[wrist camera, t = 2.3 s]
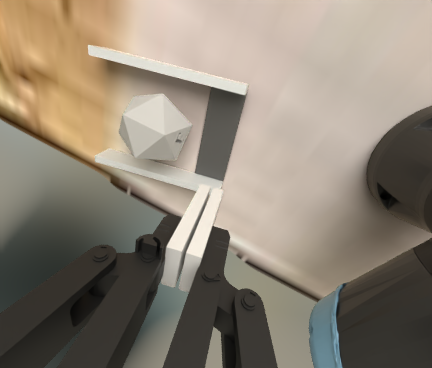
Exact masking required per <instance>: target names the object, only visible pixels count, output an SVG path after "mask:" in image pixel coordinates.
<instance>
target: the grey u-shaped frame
mask: <svg viewBox="0 0 432 368" xmlns="http://www.w3.org/2000/svg"><path fill="white" fill-rule="evenodd" d="M88 53H89V55H92V56H95V57H99V58H103V59H107V60H111V61H115V62H118V63H122V64H126V65H130V66H134V67H138V68H142V69H145V70H149V71H153V72H157V73H161V74H165V75H169V76H172V77H176V78H180V79H184V80H188V81H192V82H196V83H199V84H203V85H207V86H211V87H212V88H211V93H210V98H209V103H208V109H207V114H206V119H205V124H204V130H203V135H202V140H201V145H200V150H199V156H198V161H197V166H196V171H195V173H194V172H191V171H187V170H184V169H180V168H177V167H173V166H170V165H166V164H163V163H159V162H156V161H152V160H149V159H138V158H135V157H134V156H133V155H131V154H128V153H124V152H121V151H117V150H114V149H110V148H109V149H107V150H105V151H103V152H101V153H99V154H97V155H95V162H98V163H101V164H105V165H108V166H112V167H115V168H118V169H122V170H125V171H129V172H132V173H135V174H139V175H142V176H146V177H149V178H153V179H156V180H159V181H163V182H166V183H170V184H173V185H177V186H180V187H183V188H187V189H190V190H194V191H197V190H198V188H199V186H200V185H201V184H204V185H207V186H211V188H210V193H209V195H211V193H212V190H213V188H218V189H221V187H222V184H223V180H224V176H225V172H226V169H227V165H228V161H229V158H230V154H231V150H232V146H233V143H234V139H235V135H236V131H237V128H238V124H239V120H240V116H241V113H242V109H243V105H244V102H245V98H246V94H247V90H248V87H249V84H246V83H243V82H239V81H235V80H231V79H227V78H223V77H219V76H215V75H211V74H207V73H203V72H200V71H196V70H192V69H188V68H184V67H180V66H176V65H172V64H168V63H164V62H160V61H157V60H153V59H149V58H145V57H141V56H137V55H133V54H129V53H125V52H121V51H117V50H114V49H110V48H105V47H98V46H92V45H88Z"/></svg>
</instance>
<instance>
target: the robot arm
mask: <svg viewBox="0 0 432 368" xmlns="http://www.w3.org/2000/svg"><path fill="white" fill-rule="evenodd" d="M367 182H368V186H369V189H370V191H371V193H372V195H373V196H374V197H375V199H376V200H377V201H378V202H379V203H380V204H381V205H382V206H383V207H384V208H385V209H386V210H387V211H388V212H390V213H391V214H392V215H394V216H396V217H398V218H400V219H402V220H404V221H406V222H409V223H411V224H413V225H415V226H417V227H420V228H422V229H424V230H426V231H428V232H431V233H432V106H430V107H427V108H425V109H422V110H420V111H418V112H416V113H414V114H412V115H411V116H409V117H407V118H406V119H404V120H403V121H401V122H400V123H398V124H397V125H396V126H395V127H394V128H392V129H391V130H390V131H389V132H388V133H387V134H386V135H385V136H384V137H383V139H382V140H381V141H380V142H379V144H378V145H377V147H376V148H375V150H374V152H373V153H372V156H371V158H370V161H369V164H368V168H367ZM210 188H211V186H207V185H204V184H201V185H200V186H199V188H198V190H197V192H196V194H195V196H194V197H193V199H192V201H191V203H190V205H189V206H188V208H187V210H186V212H185V214H184V216H183V217H179V216H176V215H173V214H169V215H167V216H166V217H164V218H163V220H162V221H161V223H160V224H159V226H158V227H157V229H156V230H155V231H154V233H153V234H147V235H143V236H141V237H139V238H138V239H137V240H136V248H135V252H133V253H116V250H115V249H114V248H113V247H112V246H109V245H99V246H95V247H93V248H91V249H90V250H88V251H87V252H85V253H84V254H83V255H81V256H80V257H79V258H77V259H76V260H74V261H73V262H71V263H70V264H69V265H67V266H66V267H64V268H63V269H62V270H60V271H59V272H58V273H56V274H55V275H53V276H52V277H50V278H49V279H48V280H46V281H45V282H43V283H42V284H41V285H39V286H38V287H36V288H35V289H34V290H32V291H31V292H29V293H28V294H27V295H25V296H24V297H22V298H21V299H20V300H18V301H17V302H15V303H14V304H13V305H11V306H10V307H8V308H7V309H6V310H4V311H3V312H1V313H0V368H44V367H45V366H46V365H47V364H48V363H49V362H50V361H51V360H52V359H53V358H54V357H55V356H56V354H57V353H58V352H59V351H60V350H61V349H62V348H63V347H64V346H65V345H66V344H67V343H68V342H69V341H70V340H71V339H72V338H73V337H74V336H75V335H76V334H77V333H78V332H79V331H80V330H81V329H82V328H83V327H84V326H85V325H86V326H85V327H84V329H83V330H82V332H81V333H80V334H79V336H78V337H77V339H76V340H75V342H74V343H73V345H72V346H71V348H70V349H69V351H68V352H67V353H66V355H65V356H64V358H63V359H62V361H61V362H60V364H59V365H58V367H57V368H122V367H123V365H124V363H125V361H126V358H127V357H128V355H129V352H130V350H131V348H132V346H133V344H134V341H135V339H136V337H137V335H138V333H139V331H140V328H141V326H142V324H143V322H144V320H145V317H146V315H147V313H148V311H149V309H150V307H151V305H152V302H153V300H154V298H155V296H156V294H157V289H158V285H159V283H160V281H161V284H164V285H168V286H170V287H174V288H175V286H176V283H177V281H178V278H179V275H180V273H181V271H182V269H183V271H182V275H181V280H180V284H179V290H183V291H186V292H189V294H188V297H187V300H186V302H185V305H184V308H183V311H182V314H181V317H180V320H179V323H178V325H177V328H176V331H175V334H174V337H173V340H172V342H171V345H170V348H169V351H168V354H167V357H166V360H165V362H164V366H163V368H205V364H206V359H207V354H208V349H209V345H210V339H211V335H212V330H213V326H214V327H215V328H217V329H218V330H219V331H220V332H221V341H222V342H221V343H222V361H223V363H222V364H223V368H278V367H277V363H276V358H275V354H274V349H273V345H272V340H271V336H270V332H269V327H268V323H267V318H266V314H265V309H264V305H263V302H262V300H261V298H260V296H259V295H258V294H257V293H256V292H254V291H252V290H250V289H241V290H238V289H236V288H235V287H233V286H232V285H231V284H229V282H228V281H227V280H226V278H225V276H224V266H225V260H226V256H227V251H228V246H229V240H230V235H229V232H228V231H227V230H224V229H221V228H218V227H214V223H215V220H216V217H217V213H218V209H219V206H220V202H221V198H222V195H223V191H224V190H221V189H218V188H213V190H212V193H211V195H210V197H209V193H210ZM208 197H209V200H208ZM207 201H208V202H207ZM161 279H162V280H161ZM309 333H310V338H309V343H310V351H311V356H312V361H313V365H314V368H432V238H430V239H429V240H427V241H425V242H424V243H422V244H420V245H418V246H416V247H414V248H412V249H410V250H408V251H406V252H404V253H402V254H401V255H399V256H397V257H395V258H393V259H391V260H389V261H388V262H386V263H384V264H382V265H380V266H378V267H376V268H375V269H373V270H371V271H369V272H367V273H365V274H364V275H362V276H360V277H358V278H356V279H354V280H352V281H351V282H348V283H344V284H342V285H340V286H338V288H337V289H336V290H335V291H334V292H332V293H331V294H329V295H327V296H326V297H324V298H323V299H321V300H320V301H319V302H317V304H316V305H315V306H314V308H313V310H312V313H311V316H310V321H309Z"/></svg>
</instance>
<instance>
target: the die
mask: <svg viewBox="0 0 432 368" xmlns="http://www.w3.org/2000/svg"><path fill="white" fill-rule="evenodd" d="M191 127H192V124H191V123H190V122H189V121H188V120H187V118H186V117H185V116H184V115H183V114H182V113H181V112H180V111H179V109H178V108H177V107H176V106H175V105H174V104H173V103H172V102H171V101H170V100H169V99H168V98H167V97H166V96H165V95H164V94H163V93H162V94H150V95H138V96H133V98H132V100H131V101H130V103H129V105H128V107H127V108H126V110H125V112H124V113H123V116H122V120H121V125H120V129H119V134H120V136H121V137H122V139H123V140H124V142H125V143H126V145H127V147H128V148H129V150H130V151H131V153H132V154H133V156H134V157H135V158H138V159H154V160H170V161H176V160H177V158H178V155H179V153H180V151H181V149H182V147H183V145H184V142H185V140H186V138H187V136H188V134H189V131H190V129H191Z"/></svg>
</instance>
